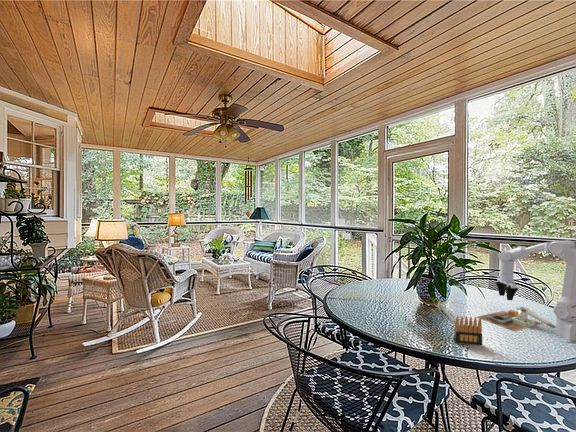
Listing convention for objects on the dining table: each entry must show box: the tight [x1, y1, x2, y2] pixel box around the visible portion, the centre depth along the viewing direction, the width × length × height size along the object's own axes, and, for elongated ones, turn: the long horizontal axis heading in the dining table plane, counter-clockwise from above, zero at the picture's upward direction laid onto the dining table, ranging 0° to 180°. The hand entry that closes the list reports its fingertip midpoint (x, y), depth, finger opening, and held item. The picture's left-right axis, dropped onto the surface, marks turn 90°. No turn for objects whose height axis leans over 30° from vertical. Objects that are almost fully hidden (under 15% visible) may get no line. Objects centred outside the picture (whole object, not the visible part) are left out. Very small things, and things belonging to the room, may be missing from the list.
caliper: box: [437, 299, 456, 325], centre depth 156 cm, size 20×1×6 cm, turn 173°
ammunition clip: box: [453, 315, 483, 346], centre depth 126 cm, size 11×2×12 cm, turn 77°
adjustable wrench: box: [515, 306, 556, 328], centre depth 155 cm, size 25×6×2 cm, turn 168°
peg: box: [517, 308, 529, 323], centre depth 144 cm, size 4×4×7 cm
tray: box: [511, 316, 536, 328], centre depth 144 cm, size 7×7×2 cm
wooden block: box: [500, 309, 518, 320], centre depth 150 cm, size 3×10×3 cm, turn 113°
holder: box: [476, 310, 544, 333], centre depth 148 cm, size 18×23×3 cm
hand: (505, 297), depth 156 cm, fingers open, 7 cm apart
